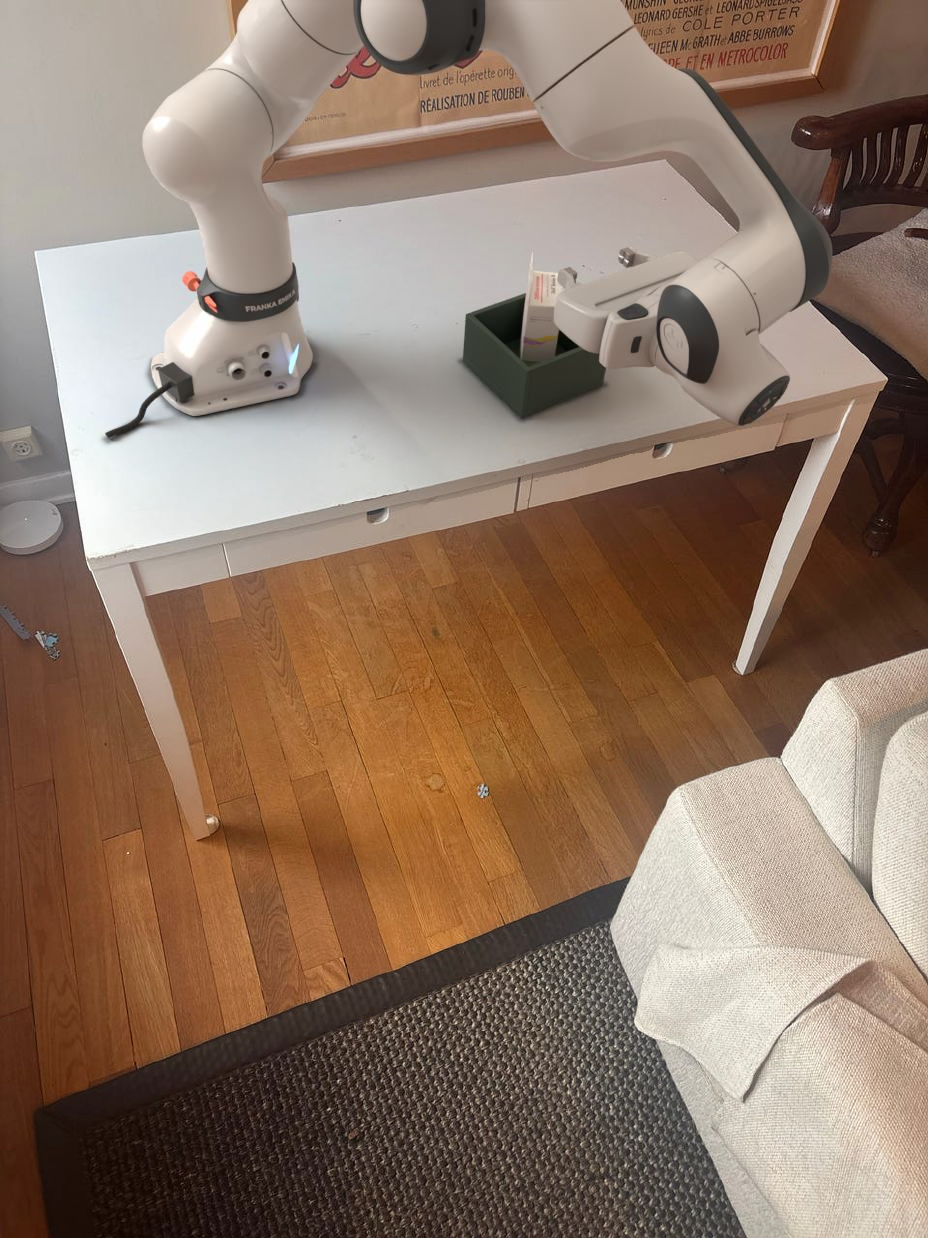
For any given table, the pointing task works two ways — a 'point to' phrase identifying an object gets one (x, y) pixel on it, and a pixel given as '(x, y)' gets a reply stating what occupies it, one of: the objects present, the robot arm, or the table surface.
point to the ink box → (539, 317)
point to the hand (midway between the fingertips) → (593, 262)
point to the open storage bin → (508, 376)
